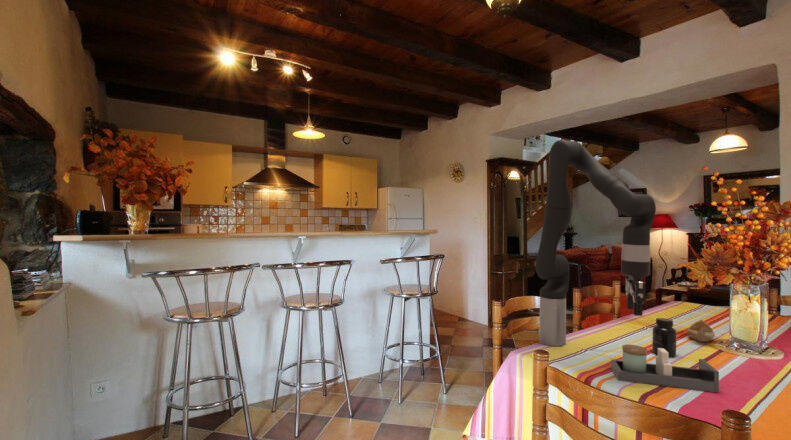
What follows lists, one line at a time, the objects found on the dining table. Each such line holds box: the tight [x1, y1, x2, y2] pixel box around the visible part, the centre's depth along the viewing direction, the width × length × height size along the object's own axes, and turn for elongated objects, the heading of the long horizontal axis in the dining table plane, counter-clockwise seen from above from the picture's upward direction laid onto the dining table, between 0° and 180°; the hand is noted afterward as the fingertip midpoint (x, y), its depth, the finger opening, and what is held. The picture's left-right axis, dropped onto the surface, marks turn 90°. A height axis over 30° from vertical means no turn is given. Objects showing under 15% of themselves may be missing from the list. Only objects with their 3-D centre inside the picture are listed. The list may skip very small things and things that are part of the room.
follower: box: [655, 348, 673, 376], centre depth 113 cm, size 2×7×8 cm, turn 161°
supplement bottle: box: [651, 317, 677, 358], centre depth 134 cm, size 7×7×12 cm
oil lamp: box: [686, 319, 716, 343], centre depth 151 cm, size 9×21×10 cm, turn 143°
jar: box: [621, 344, 648, 373], centre depth 115 cm, size 6×6×8 cm
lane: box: [610, 358, 720, 393], centre depth 113 cm, size 24×10×6 cm, turn 71°
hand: (634, 311), depth 118 cm, fingers open, 8 cm apart
